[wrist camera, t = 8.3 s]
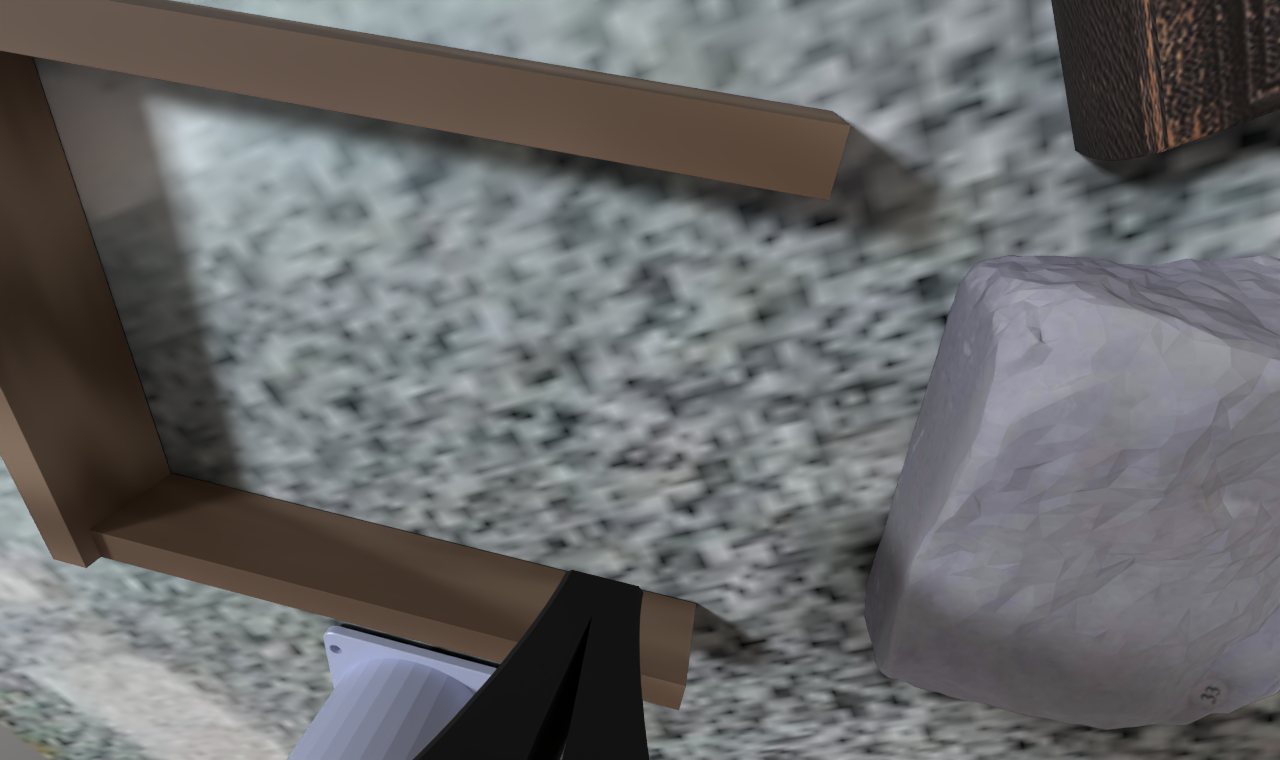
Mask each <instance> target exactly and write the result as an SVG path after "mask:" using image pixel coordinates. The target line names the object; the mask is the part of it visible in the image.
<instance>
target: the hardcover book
mask: <svg viewBox="0 0 1280 760" xmlns="http://www.w3.org/2000/svg"><path fill="white" fill-rule="evenodd" d="M1051 1H1052V7H1053V14H1054V20H1055V26H1056V32H1057V39H1058V45H1059V51H1060V57H1061V64H1062V70H1063V76H1064V82H1065V89H1066V95H1067V101H1068V108H1069V114H1070V120H1071V126H1072V133H1073V139H1074V145H1075V150H1076V151H1078V152H1080V153H1082V154H1084V155H1086V156H1088V157H1091V158H1095V159H1101V160H1106V161H1117V160H1127V159H1132V158H1138V157H1143V156H1148V155H1152V154H1156V153H1160V152H1164V151H1166V150H1169V149H1172V148H1175V147H1177V146H1180V145H1183V144H1186V143H1188V142H1191V141H1194V140H1197V139H1199V138H1202V137H1205V136H1208V135H1210V134H1213V133H1216V132H1219V131H1221V130H1224V129H1227V128H1230V127H1232V126H1235V125H1238V124H1241V123H1243V122H1246V121H1249V120H1252V119H1254V118H1257V117H1260V116H1262V115H1265V114H1268V113H1271V112H1273V111H1276V110H1279V109H1280V0H1051Z"/></svg>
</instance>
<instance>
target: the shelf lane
mask: <svg viewBox="0 0 1280 760" xmlns="http://www.w3.org/2000/svg"><path fill="white" fill-rule="evenodd" d="M32 56H33V57H39V58H44V59H50V60H55V61H61V62H66V63H72V64H77V65H83V66H89V67H94V68H100V69H105V70H111V71H116V72H122V73H127V74H133V75H138V76H144V77H149V78H155V79H160V80H166V81H171V82H177V83H182V84H188V85H193V86H199V87H205V88H210V89H216V90H221V91H227V92H232V93H238V94H243V95H249V96H254V97H260V98H265V99H271V100H276V101H282V102H287V103H293V104H298V105H304V106H309V107H315V108H321V109H326V110H332V111H337V112H343V113H348V114H354V115H359V116H365V117H370V118H376V119H381V120H387V121H392V122H398V123H403V124H409V125H414V126H420V127H426V128H431V129H437V130H442V131H448V132H453V133H459V134H464V135H470V136H475V137H481V138H486V139H492V140H497V141H503V142H508V143H514V144H519V145H525V146H530V147H536V148H542V149H547V150H553V151H558V152H564V153H569V154H575V155H580V156H586V157H591V158H597V159H602V160H608V161H613V162H619V163H624V164H630V165H635V166H641V167H646V168H652V169H658V170H663V171H669V172H674V173H680V174H685V175H691V176H696V177H702V178H707V179H713V180H718V181H724V182H729V183H735V184H740V185H746V186H751V187H757V188H763V189H768V190H774V191H779V192H785V193H790V194H796V195H801V196H807V197H812V198H818V199H823V200H829V198H830V195H831V192H832V188H833V185H834V181H835V178H836V175H837V171H838V168H839V164H840V161H841V158H842V154H843V151H844V147H845V144H846V141H847V137H848V134H849V130H850V127H851V126H850V125H849V124H848V123H847V122H845V121H844V120H843V119H842V118H840V117H839V116H838V115H837V114H835V113H834V112H833V111H828V110H822V109H816V108H810V107H804V106H798V105H792V104H786V103H781V102H775V101H769V100H763V99H757V98H751V97H745V96H739V95H733V94H727V93H721V92H715V91H709V90H703V89H697V88H691V87H685V86H679V85H673V84H667V83H661V82H655V81H649V80H643V79H637V78H631V77H625V76H619V75H613V74H607V73H601V72H595V71H589V70H583V69H577V68H571V67H565V66H559V65H553V64H547V63H541V62H535V61H529V60H523V59H517V58H511V57H505V56H499V55H493V54H487V53H481V52H475V51H469V50H463V49H457V48H451V47H445V46H439V45H434V44H428V43H422V42H416V41H410V40H404V39H398V38H392V37H386V36H380V35H374V34H368V33H362V32H356V31H350V30H344V29H338V28H332V27H326V26H320V25H314V24H308V23H302V22H296V21H290V20H284V19H278V18H272V17H266V16H260V15H254V14H248V13H242V12H236V11H230V10H224V9H218V8H212V7H206V6H200V5H194V4H188V3H182V2H176V1H170V0H0V455H1V457H2V459H3V461H4V463H5V465H6V467H7V469H8V471H9V473H10V475H11V477H12V479H13V481H14V482H15V484H16V486H17V488H18V490H19V492H20V494H21V496H22V498H23V500H24V502H25V504H26V506H27V508H28V510H29V512H30V514H31V516H32V518H33V520H34V522H35V524H36V526H37V528H38V530H39V532H40V534H41V536H42V538H43V540H44V542H45V544H46V546H47V547H48V549H49V551H50V553H51V555H52V557H53V559H55V560H59V561H62V562H66V563H70V564H73V565H77V566H81V567H85V568H87V567H88V566H89V565H91V564H92V563H93V562H95V561H96V560H97V559H99V558H100V557H104V558H108V559H112V560H116V561H120V562H123V563H127V564H131V565H135V566H138V567H142V568H146V569H150V570H153V571H157V572H161V573H165V574H168V575H172V576H176V577H180V578H184V579H187V580H191V581H195V582H199V583H202V584H206V585H210V586H214V587H217V588H221V589H225V590H229V591H232V592H236V593H240V594H244V595H248V596H251V597H255V598H259V599H263V600H266V601H270V602H274V603H278V604H281V605H285V606H289V607H293V608H296V609H300V610H304V611H308V612H311V613H315V614H319V615H323V616H327V617H330V618H334V619H338V620H342V621H345V622H349V623H353V624H357V625H360V626H364V627H368V628H372V629H375V630H379V631H383V632H387V633H391V634H394V635H398V636H402V637H406V638H409V639H413V640H417V641H421V642H424V643H428V644H432V645H436V646H439V647H443V648H447V649H451V650H455V651H458V652H462V653H466V654H470V655H473V656H477V657H481V658H485V659H488V660H492V661H496V662H500V663H502V662H503V660H504V659H505V658H506V657H507V655H508V654H509V653H510V652H511V650H512V649H513V648H514V647H515V645H516V644H517V643H518V642H519V640H520V639H521V638H522V637H523V635H524V634H525V633H526V631H527V630H528V629H529V627H530V626H531V625H532V623H533V622H534V621H535V619H536V618H537V616H538V615H539V614H540V612H541V611H542V609H543V608H544V607H545V605H546V604H547V602H548V601H549V599H550V598H551V596H552V595H553V593H554V591H555V590H556V588H557V587H558V585H559V583H560V582H561V580H562V578H563V576H564V575H565V573H567V571H563V570H559V569H555V568H550V567H546V566H542V565H538V564H534V563H530V562H526V561H522V560H518V559H514V558H510V557H506V556H502V555H498V554H494V553H490V552H486V551H482V550H478V549H474V548H470V547H466V546H462V545H458V544H454V543H450V542H446V541H442V540H438V539H434V538H430V537H426V536H422V535H418V534H414V533H409V532H405V531H401V530H397V529H393V528H389V527H385V526H381V525H377V524H373V523H369V522H365V521H361V520H357V519H353V518H349V517H345V516H341V515H337V514H333V513H329V512H325V511H321V510H317V509H313V508H309V507H305V506H301V505H297V504H293V503H289V502H285V501H281V500H277V499H272V498H268V497H264V496H260V495H256V494H252V493H248V492H244V491H240V490H236V489H232V488H228V487H224V486H220V485H216V484H212V483H208V482H204V481H200V480H196V479H192V478H188V477H184V476H180V475H176V474H172V473H170V470H169V467H168V464H167V461H166V458H165V455H164V452H163V449H162V446H161V443H160V440H159V437H158V434H157V431H156V428H155V425H154V422H153V419H152V416H151V413H150V410H149V407H148V404H147V401H146V398H145V395H144V392H143V389H142V386H141V383H140V380H139V377H138V374H137V371H136V368H135V365H134V362H133V359H132V356H131V353H130V350H129V347H128V344H127V341H126V338H125V335H124V332H123V329H122V326H121V323H120V320H119V317H118V314H117V311H116V308H115V305H114V302H113V299H112V296H111V293H110V290H109V287H108V284H107V281H106V278H105V275H104V272H103V269H102V266H101V263H100V260H99V257H98V254H97V251H96V248H95V245H94V242H93V239H92V236H91V233H90V230H89V227H88V224H87V221H86V218H85V215H84V212H83V209H82V206H81V203H80V200H79V197H78V194H77V191H76V188H75V185H74V182H73V179H72V176H71V173H70V170H69V167H68V164H67V161H66V158H65V155H64V152H63V149H62V146H61V143H60V140H59V137H58V134H57V131H56V128H55V125H54V122H53V119H52V116H51V113H50V110H49V107H48V104H47V101H46V98H45V95H44V92H43V89H42V86H41V83H40V80H39V77H38V74H37V71H36V68H35V65H34V62H33V59H32ZM642 591H643V590H642ZM643 592H644V593H643V598H642V605H641V615H640V673H641V687H642V699H643V701H647V702H650V703H654V704H658V705H662V706H665V707H669V708H673V709H677V710H679V708H680V704H681V701H682V697H683V694H684V691H685V687H686V681H687V673H688V665H689V657H690V649H691V641H692V633H693V625H694V617H695V609H696V603H692V602H687V601H683V600H679V599H675V598H671V597H667V596H663V595H659V594H655V593H651V592H647V591H643Z"/></svg>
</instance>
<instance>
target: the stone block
mask: <svg viewBox="0 0 1280 760" xmlns="http://www.w3.org/2000/svg"><path fill="white" fill-rule="evenodd" d="M865 620H866V625H867V628H868V632H869V635H870V638H871V641H872V644H873V651H874V657H875V662H876V664H877V666H878V668H879V669H880V671H881V673H883V674H884V675H886V676H887V677H888V678H895V679H898V680H901V681H905V682H907V683H909V684H911V685H913V686H915V687H918V688H921V689H924V690H927V691H933V692H939V693H942V694H944V695H947V696H950V697H953V698H957V699H960V700H965V701H971V702H978V703H984V704H988V705H991V706H994V707H997V708H1000V709H1004V710H1008V711H1012V712H1015V713H1019V714H1023V715H1027V716H1033V717H1040V718H1047V719H1051V720H1055V721H1059V722H1063V723H1067V724H1080V725H1085V726H1090V727H1095V728H1100V729H1105V730H1109V729H1117V728H1126V727H1139V726H1144V725H1150V724H1159V725H1188V724H1190V723H1192V722H1194V721H1196V720H1198V719H1200V718H1202V717H1204V716H1207V715H1209V714H1211V713H1231V712H1233V711H1235V710H1237V709H1239V708H1241V707H1243V706H1245V705H1248V704H1251V703H1253V702H1256V701H1259V700H1261V699H1264V698H1266V697H1269V696H1272V695H1274V694H1275V693H1276V692H1278V691H1279V690H1280V259H1277V258H1273V257H1270V256H1261V255H1260V256H1257V257H1249V258H1234V259H1225V260H1213V261H1210V260H1208V261H1196V260H1193V259H1183V260H1179V261H1175V262H1171V263H1166V264H1162V265H1158V266H1153V267H1151V266H1141V265H1133V264H1117V263H1114V262H1110V261H1107V260H1094V259H1090V258H1083V257H1064V256H1025V257H1021V256H1014V255H1009V256H1004V257H999V258H994V259H989V260H985V261H980V262H978V263H977V264H976V265H975V266H973V267H972V268H971V269H970V270H969V271H968V273H967V274H966V276H965V277H964V279H963V281H962V282H961V284H960V285H959V287H958V290H957V293H956V296H955V299H954V302H953V304H952V307H951V310H950V312H949V315H948V319H947V322H946V326H945V329H944V332H943V336H942V339H941V343H940V346H939V350H938V354H937V357H936V360H935V363H934V366H933V370H932V373H931V376H930V379H929V383H928V386H927V389H926V393H925V396H924V399H923V403H922V406H921V409H920V413H919V416H918V419H917V422H916V425H915V429H914V432H913V435H912V438H911V441H910V444H909V447H908V452H907V456H906V459H905V463H904V466H903V469H902V472H901V475H900V478H899V481H898V484H897V487H896V490H895V493H894V497H893V500H892V504H891V507H890V511H889V516H888V520H887V522H886V525H885V528H884V532H883V535H882V538H881V541H880V544H879V546H878V549H877V552H876V555H875V558H874V561H873V565H872V568H871V572H870V575H869V578H868V581H867V584H866V599H865Z"/></svg>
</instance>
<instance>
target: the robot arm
mask: <svg viewBox="0 0 1280 760" xmlns="http://www.w3.org/2000/svg"><path fill="white" fill-rule="evenodd" d="M643 593H644V592H643V591H642V590H641V589H640V588H639V586H635V585H631V584H627V583H623V582H619V581H615V580H611V579H607V578H603V577H599V576H595V575H591V574H587V573H582V572H578V571H574V570H571V571H569V572H567V573H565V575H564V576H563V578H562V580H561V582H560V583H559V585H558V587H557V588H556V590H555V591H554V593H553V595H552V596H551V598H550V599H549V601H548V602H547V604H546V605H545V607H544V608H543V609H542V611H541V612H540V614H539V615H538V616H537V618H536V619H535V621H534V622H533V623H532V625H531V626H530V627H529V629H528V630H527V631H526V633H525V634H524V635H523V637H522V638H521V639H520V640H519V642H518V643H517V644H516V645H515V647H514V648H513V649H512V650H511V652H510V653H509V654H508V655H507V657H506V658H505V659H504V660H503V662H502V663H501V664H500V665H499V667H498V668H494V667H491V666H487V665H483V664H479V663H476V662H472V661H468V660H464V659H461V658H457V657H453V656H449V655H446V654H442V653H438V652H434V651H431V650H427V649H423V648H419V647H416V646H412V645H408V644H404V643H401V642H397V641H393V640H389V639H386V638H382V637H378V636H374V635H371V634H367V633H363V632H359V631H356V630H352V629H348V628H344V627H341V626H331V627H330V628H329V629H328V630H327V631H326V632H325V634H324V642H325V647H326V652H327V657H328V662H329V667H330V672H331V677H332V682H333V687H334V691H333V692H332V693H331V695H330V696H329V698H328V699H327V701H326V702H325V704H324V705H323V707H322V708H321V710H320V711H319V713H318V714H317V716H316V717H315V718H314V720H313V721H312V723H311V724H310V726H309V727H308V729H307V730H306V732H305V733H304V735H303V736H302V738H301V739H300V741H299V742H298V743H297V745H296V746H295V748H294V749H293V751H292V752H291V754H290V755H289V757H288V758H287V760H560V758H561V755H562V752H563V749H564V747H565V750H564V754H563V759H562V760H649V754H648V747H647V739H646V730H645V722H644V711H643V699H642V687H641V673H640V615H641V605H642V598H643ZM566 741H567V742H566ZM565 744H566V746H565Z"/></svg>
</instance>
